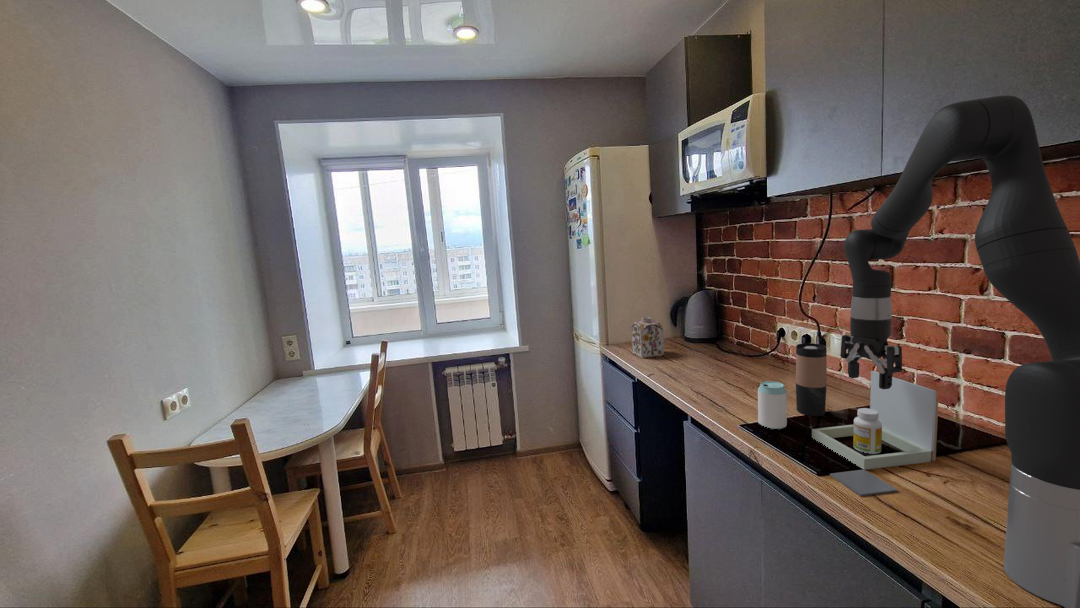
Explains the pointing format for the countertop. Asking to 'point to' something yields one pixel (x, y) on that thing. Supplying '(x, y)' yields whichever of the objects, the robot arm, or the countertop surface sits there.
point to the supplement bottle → (867, 431)
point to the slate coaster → (863, 482)
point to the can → (772, 405)
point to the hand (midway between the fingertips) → (868, 382)
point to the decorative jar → (647, 338)
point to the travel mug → (811, 378)
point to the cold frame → (893, 425)
